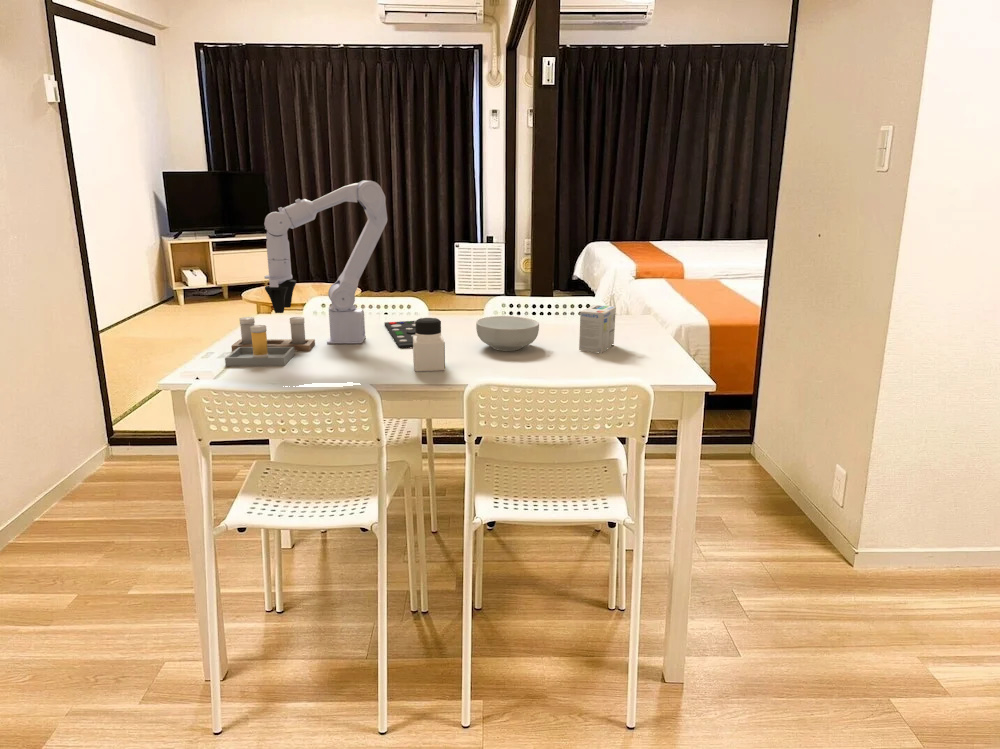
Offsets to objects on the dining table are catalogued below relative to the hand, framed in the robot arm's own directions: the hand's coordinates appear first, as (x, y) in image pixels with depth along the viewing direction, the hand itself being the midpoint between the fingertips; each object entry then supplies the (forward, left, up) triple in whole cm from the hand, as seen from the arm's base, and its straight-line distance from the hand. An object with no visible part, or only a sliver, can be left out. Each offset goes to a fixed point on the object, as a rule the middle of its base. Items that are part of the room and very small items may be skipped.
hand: (282, 310), depth 193 cm
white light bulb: (+8, +4, -9) cm, 13 cm away
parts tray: (+2, +17, -9) cm, 19 cm away
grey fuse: (-4, +4, -9) cm, 11 cm away
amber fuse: (+2, +17, -9) cm, 19 cm away
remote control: (-33, -11, -10) cm, 36 cm away
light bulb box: (-84, +5, -10) cm, 85 cm away
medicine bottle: (-40, +24, -10) cm, 48 cm away
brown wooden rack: (+2, +4, -9) cm, 10 cm away
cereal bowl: (-60, +4, -10) cm, 61 cm away
